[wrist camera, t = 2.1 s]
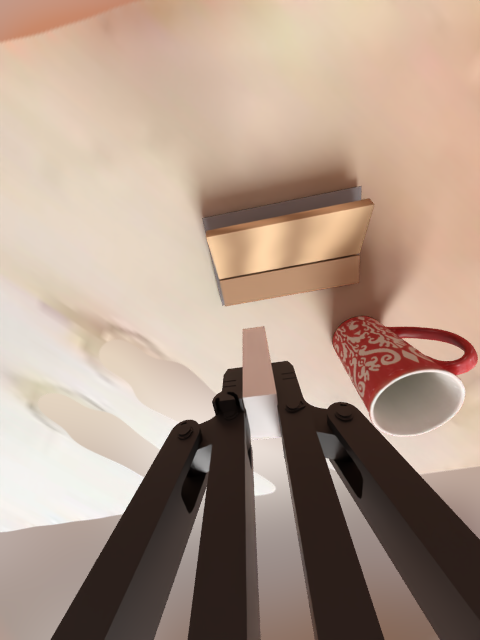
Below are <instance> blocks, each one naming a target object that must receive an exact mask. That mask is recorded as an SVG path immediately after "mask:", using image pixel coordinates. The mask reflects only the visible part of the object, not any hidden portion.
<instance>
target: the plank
mask: <svg viewBox="0 0 480 640" xmlns="http://www.w3.org/2000/svg"><path fill="white" fill-rule="evenodd" d="M373 207H374V203H373V202H372V201H371V200H370V199H364V200H359V201H354V202H349V203H344V204H339V205H334V206H329V207H324V208H319V209H314V210H309V211H304V212H299V213H294V214H289V215H284V216H278V217H273V218H268V219H263V220H258V221H253V222H248V223H243V224H238V225H233V226H228V227H223V228H218V229H213V230H208V231H206V238H207V242H208V245H209V248H210V251H211V254H212V258H213V261H214V264H215V267H216V270H217V274H218V277H219V279H224V278H229V277H234V276H240V275H245V274H251V273H256V272H262V271H267V270H273V269H278V268H283V267H289V266H294V265H300V264H305V263H311V262H316V261H322V260H327V259H332V258H338V257H343V256H349V255H354V254H360V250H361V247H362V244H363V240H364V237H365V234H366V231H367V227H368V224H369V221H370V217H371V214H372V211H373Z"/></svg>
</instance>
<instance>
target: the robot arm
mask: <svg viewBox="0 0 480 640" xmlns="http://www.w3.org/2000/svg"><path fill="white" fill-rule="evenodd" d="M212 403H213V407H214V411H215V414H216V416H215V417H213V418H212V419H210V420H208V421H206V422H204V423H201V424H198V423H197V422H196V421H194V420H185V421H182V422H180V423H179V424H177V425H176V426H175V427H174V428H173V429H172V431H171V432H170V434H169V436H168V438H167V439H166V441H165V443H164V445H163V446H162V448H161V450H160V451H159V453H158V455H157V457H156V458H155V460H154V462H153V464H152V465H151V467H150V469H149V471H148V472H147V474H146V476H145V477H144V479H143V481H142V483H141V484H140V486H139V488H138V489H137V491H136V493H135V495H134V496H133V498H132V500H131V502H130V503H129V505H128V507H127V508H126V510H125V512H124V514H123V515H122V517H121V519H120V521H119V522H118V524H117V526H116V528H115V529H114V531H113V533H112V534H111V536H110V538H109V540H108V541H107V543H106V545H105V547H104V548H103V550H102V552H101V553H100V555H99V557H98V559H97V560H96V562H95V564H94V566H93V568H92V569H91V571H90V572H89V574H88V576H87V578H86V579H85V581H84V583H83V585H82V586H81V588H80V590H79V592H78V593H77V595H76V597H75V598H74V600H73V602H72V604H71V605H70V607H69V609H68V611H67V613H66V614H65V616H64V617H63V619H62V621H61V623H60V624H59V626H58V628H57V630H56V631H55V633H54V635H53V636H52V638H51V640H154V637H155V634H156V631H157V628H158V625H159V623H160V620H161V617H162V614H163V611H164V608H165V605H166V602H167V600H168V596H169V594H170V591H171V588H172V585H173V582H174V579H175V576H176V574H177V570H178V568H179V565H180V562H181V559H182V556H183V553H184V550H185V547H186V544H187V542H188V539H189V536H190V533H191V530H192V527H193V524H194V521H195V519H196V516H197V513H198V510H199V507H200V504H201V501H202V498H203V495H204V492H205V489H206V487H207V491H206V498H205V507H204V514H203V522H202V530H201V538H200V546H199V555H198V562H197V570H196V578H195V586H194V595H193V602H192V610H191V618H190V626H189V634H188V640H261V639H260V618H259V617H260V616H259V593H258V571H257V570H258V569H257V549H256V524H255V500H254V477H253V457H252V447H251V440H258V439H266V438H277V437H282V443H283V451H284V458H285V462H286V468H287V474H288V480H289V486H290V492H291V499H292V504H293V511H294V516H295V523H296V529H297V535H298V541H299V546H300V553H301V559H302V565H303V571H304V577H305V583H306V589H307V595H308V600H309V607H310V613H311V619H312V625H313V631H314V637H315V640H384V637H383V634H382V631H381V628H380V625H379V621H378V619H377V615H376V612H375V610H374V606H373V603H372V600H371V597H370V594H369V591H368V588H367V585H366V582H365V579H364V576H363V572H362V569H361V566H360V564H359V560H358V557H357V554H356V551H355V548H354V545H353V542H352V539H351V536H350V533H349V530H348V527H347V524H346V521H345V517H344V515H343V511H342V508H341V505H340V502H339V499H338V496H337V493H336V490H335V487H334V484H333V481H332V478H331V475H330V472H329V468H328V465H327V462H326V459H325V458H329V460H330V462H331V463H332V465H333V467H334V468H335V470H336V472H337V473H338V475H339V476H340V478H341V480H342V481H343V483H344V484H345V486H346V488H347V489H348V491H349V493H350V494H351V496H352V497H353V499H354V501H355V502H356V504H357V506H358V507H359V509H360V511H361V512H362V514H363V515H364V517H365V519H366V520H367V522H368V523H369V525H370V527H371V528H372V530H373V532H374V533H375V535H376V536H377V538H378V540H379V541H380V543H381V544H382V546H383V548H384V549H385V551H386V553H387V554H388V556H389V558H390V559H391V561H392V562H393V564H394V566H395V567H396V569H397V570H398V572H399V574H400V575H401V577H402V579H403V580H404V582H405V584H406V585H407V587H408V588H409V590H410V591H411V593H412V595H413V596H414V598H415V600H416V601H417V603H418V605H419V606H420V608H421V610H422V611H423V613H424V614H425V616H426V618H427V619H428V621H429V622H430V624H431V626H432V627H433V629H434V631H435V632H436V634H437V635H438V637H439V639H440V640H480V539H479V538H478V537H477V536H476V535H475V534H474V533H473V532H472V531H471V530H470V529H469V528H468V527H467V525H465V523H464V522H463V521H462V520H461V519H460V518H459V517H458V516H457V515H456V514H455V513H454V512H453V511H452V509H451V508H450V507H449V506H448V505H447V504H446V503H445V502H444V501H443V500H442V499H441V498H440V497H439V495H438V494H437V493H436V492H435V491H434V490H433V489H432V488H431V487H430V486H429V485H428V484H427V483H426V482H425V481H424V479H422V477H421V476H420V475H419V474H418V473H417V472H416V471H415V470H414V469H413V468H412V466H411V465H410V464H409V463H408V462H407V461H406V460H405V459H404V458H403V457H402V456H401V455H400V454H399V453H398V451H397V450H396V449H395V448H394V447H393V446H392V445H391V444H390V443H389V442H388V441H387V440H386V439H385V438H384V436H383V435H382V434H381V433H380V432H379V431H378V430H377V429H376V428H375V427H374V426H373V425H372V424H371V423H370V421H369V420H368V419H367V418H366V417H365V416H364V415H363V414H362V413H361V412H360V411H359V410H358V409H357V408H356V407H355V406H353V405H351V404H348V403H344V402H337V403H334V404H332V405H330V406H329V408H328V409H323V408H317V407H314V406H312V405H310V404H308V403H307V402H306V401H305V400H304V398H303V396H302V393H301V389H300V386H299V383H298V380H297V377H296V374H295V371H294V368H293V365H292V364H290V363H289V362H288V361H283V362H276V363H271V360H270V355H269V349H268V344H267V338H266V333H265V327H264V326H262V327H255V328H248V329H243V367H241V368H233V369H228V370H227V371H226V373H225V374H224V378H223V388H222V392H220V393H218V394H217V395H216V396H215V397H214V399H213V401H212Z"/></svg>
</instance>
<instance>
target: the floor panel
mask: <svg viewBox="0 0 480 640" xmlns="http://www.w3.org/2000/svg"><path fill="white" fill-rule="evenodd" d="M359 200H361V186H359V187H354V188H349V189H344V190H339V191H334V192H329V193H324V194H319V195H314V196H309V197H305V198H300V199H295V200H290V201H285V202H280V203H275V204H270V205H265V206H260V207H255V208H250V209H245V210H240V211H235V212H230V213H226V214H221V215H216V216H211V217H206V218H202V219H203V224H204V228H205V232H206V231H208V230H213V229H218V228H223V227H228V226H233V225H238V224H243V223H248V222H253V221H258V220H263V219H268V218H273V217H278V216H284V215H289V214H294V213H299V212H304V211H309V210H314V209H319V208H324V207H329V206H334V205H339V204H344V203H349V202H354V201H359ZM209 249H210V248H209ZM210 254H211V251H210ZM211 258H212V254H211ZM212 262H213V267H214V271H215V275H216V280H217V284H218V288H219V293H220V297H221V301H222V306H223V305H225V306H230V305H236V304H241V303H247V302H253V301H258V300H264V299H270V298H276V297H281V296H287V295H293V294H298V293H304V292H310V291H315V290H321V289H327V288H333V287H338V286H344V285H350V284H355V283H359V268H360V255H359V254H354V255H349V256H343V257H338V258H332V259H327V260H322V261H316V262H311V263H305V264H300V265H294V266H289V267H283V268H278V269H273V270H267V271H262V272H256V273H251V274H245V275H240V276H234V277H229V278H224V279H219V277H218V274H217V270H216V267H215V264H214V261H213V258H212Z"/></svg>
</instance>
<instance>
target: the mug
mask: <svg viewBox="0 0 480 640" xmlns="http://www.w3.org/2000/svg"><path fill="white" fill-rule="evenodd" d="M401 338H419V339H429V340H437V341H442V342H446V343H450V344H453V345H455V346H457V347H459V348H461V349H462V350H463V351H464V352H465V354H464V355H463V356H462V357H461V358H460V359H457V360H454V361H439V360H436V359H433V358H431V357H429V356H425V355H424V354H422V353H421V352H419V351H418V350H417V349H415V348H414V347H412V346H411V345H410V344H408V343H407V342H405V341H404V340H403V339H401ZM333 347H334V349H335V351H336V353H337V355H338V357H339V358H340V360H341V362H342V364H343V366H344V368H345V370H346V371H347V373H348V375H349V377H350V379H351V381H352V383H353V384H354V386H355V388H356V390H357V392H358V394H359V395H360V397H361V399H362V401H363V403H364V404H365V406H366V408H367V410H368V412H369V416H370V419H371V421H372V423H373V424H374V426H375V427H376V428H377V429H379V430H380V431H382V432H384V433H386V434H389V435H392V436H402V437H406V436H415V435H420V434H423V433H427V432H429V431H432V430H434V429H436V428H438V427H440V426H441V425H443V424H445V423H446V422H448V421H449V420H450V419H451V418H452V417H453V416H454V415H456V413H457V412H458V411H459V409H460V408H461V406H462V404H463V402H464V398H465V387H464V385H463V383H462V381H461V380H460V379H459V378H458V377H457V376H456V375H459V374H462V373H465V372H468V371H469V370H471V369H472V368H473V367H474V366H475V365H476V363H477V360H478V357H477V353H476V351H475V349H474V347H473V346H472V345H471V343H469V342H468V341H467V340H466V339H464V338H462V337H461V336H459V335H457V334H454V333H451V332H448V331H444V330H439V329H432V328H421V327H385V326H384V325H382V324H381V323H380V322H378V321H377V320H375V319H373V318H371V317H367V316H358V317H354V318H351V319H349V320H347V321H345V322H344V323H342V324H341V325H340V326H339V327H338V328H337V330H336V332H335V333H334V336H333Z"/></svg>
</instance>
